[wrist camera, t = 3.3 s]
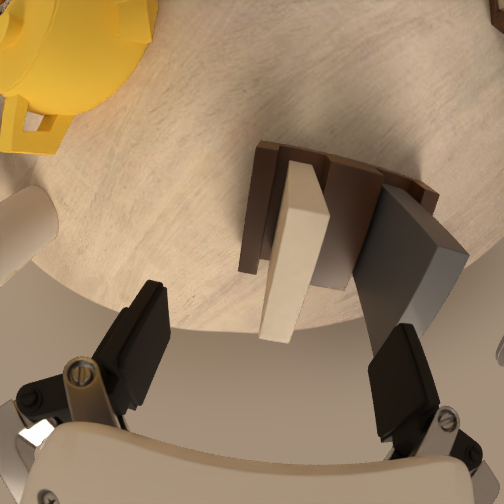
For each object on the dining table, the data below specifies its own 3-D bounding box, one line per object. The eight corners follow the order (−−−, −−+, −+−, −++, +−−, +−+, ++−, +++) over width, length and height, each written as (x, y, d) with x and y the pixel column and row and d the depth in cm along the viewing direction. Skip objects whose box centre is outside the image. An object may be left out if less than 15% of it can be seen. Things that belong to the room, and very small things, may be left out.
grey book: (403, 189, 19) (470, 255, 10) (373, 270, 23) (404, 360, 14) (377, 181, 19) (438, 245, 10) (349, 266, 23) (373, 358, 14)
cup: (24, 231, 28) (-31, 278, 18) (20, 179, 24) (-48, 220, 14) (60, 250, 29) (1, 307, 18) (57, 193, 24) (-20, 244, 14)
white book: (312, 164, 19) (330, 215, 11) (291, 255, 23) (288, 344, 15) (288, 160, 19) (288, 206, 11) (271, 251, 24) (258, 338, 15)
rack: (421, 181, 19) (440, 194, 16) (385, 276, 24) (394, 299, 21) (261, 140, 20) (255, 146, 17) (244, 250, 25) (237, 271, 22)
